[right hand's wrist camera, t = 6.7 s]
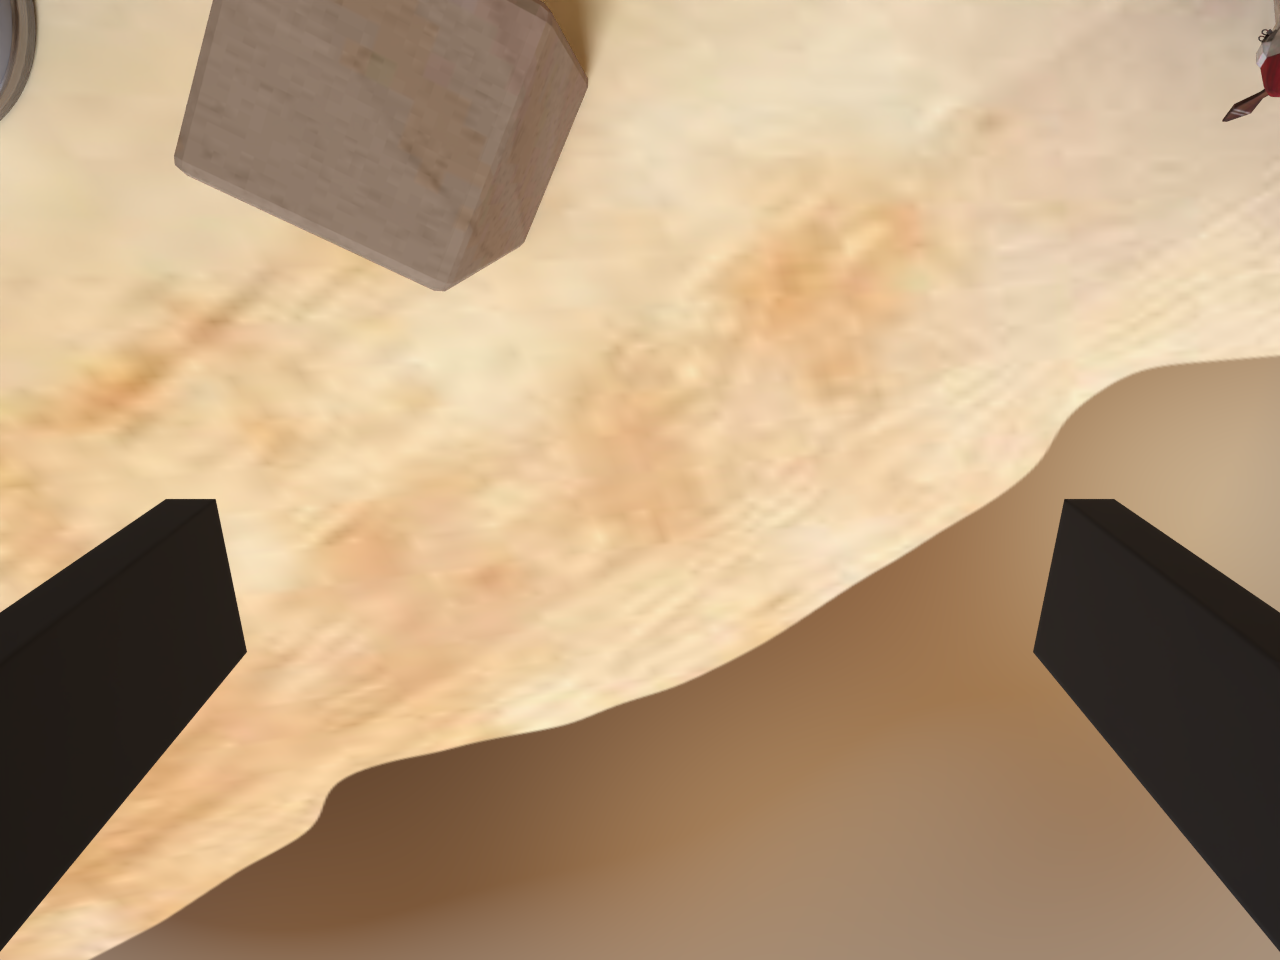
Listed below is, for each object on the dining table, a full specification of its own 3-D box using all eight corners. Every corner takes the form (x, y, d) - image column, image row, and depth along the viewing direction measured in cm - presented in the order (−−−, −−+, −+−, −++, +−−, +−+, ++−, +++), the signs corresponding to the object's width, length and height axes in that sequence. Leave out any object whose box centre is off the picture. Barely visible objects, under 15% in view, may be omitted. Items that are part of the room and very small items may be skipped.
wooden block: (419, -13, 42) (244, -161, 24) (592, 78, 44) (556, 7, 25) (359, 170, 45) (163, 168, 27) (522, 249, 47) (444, 298, 28)
